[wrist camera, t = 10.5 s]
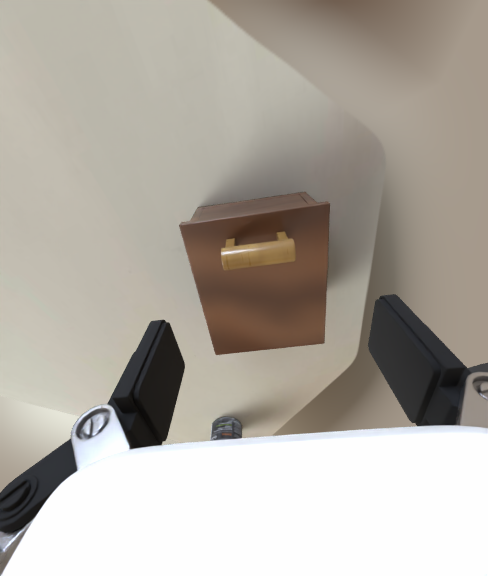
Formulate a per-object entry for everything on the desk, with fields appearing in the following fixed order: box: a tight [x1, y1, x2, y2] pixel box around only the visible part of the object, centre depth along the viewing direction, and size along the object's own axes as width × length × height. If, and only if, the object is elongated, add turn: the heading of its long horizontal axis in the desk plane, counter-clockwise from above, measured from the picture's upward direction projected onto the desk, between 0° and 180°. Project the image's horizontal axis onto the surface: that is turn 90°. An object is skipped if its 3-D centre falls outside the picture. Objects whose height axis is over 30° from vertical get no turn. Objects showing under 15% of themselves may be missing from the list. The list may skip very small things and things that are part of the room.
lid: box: [179, 202, 330, 355], centre depth 21 cm, size 14×12×4 cm
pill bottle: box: [210, 417, 242, 441], centre depth 44 cm, size 6×6×11 cm
